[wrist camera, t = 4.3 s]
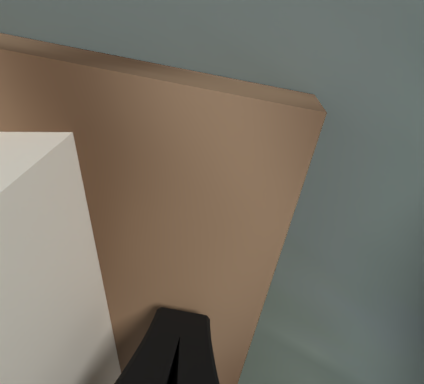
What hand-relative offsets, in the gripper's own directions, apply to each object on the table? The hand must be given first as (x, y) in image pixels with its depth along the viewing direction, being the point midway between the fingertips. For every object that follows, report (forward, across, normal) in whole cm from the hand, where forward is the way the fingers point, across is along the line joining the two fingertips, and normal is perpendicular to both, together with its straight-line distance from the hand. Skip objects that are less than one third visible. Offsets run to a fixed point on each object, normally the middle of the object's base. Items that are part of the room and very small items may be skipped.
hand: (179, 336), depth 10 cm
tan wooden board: (+2, +4, 0) cm, 4 cm away
